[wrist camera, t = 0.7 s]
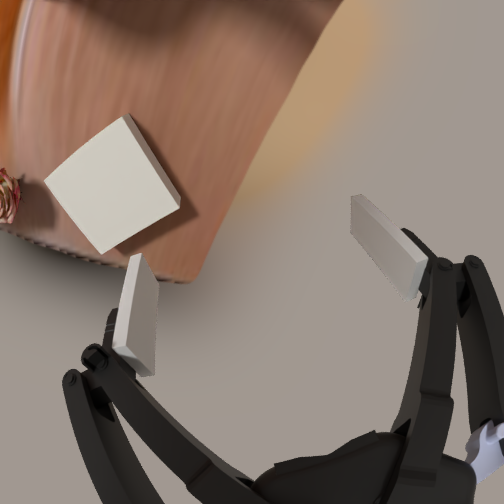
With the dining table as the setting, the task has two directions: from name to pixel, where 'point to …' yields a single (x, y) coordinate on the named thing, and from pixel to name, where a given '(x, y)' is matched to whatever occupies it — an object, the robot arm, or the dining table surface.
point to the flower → (8, 197)
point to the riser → (113, 186)
